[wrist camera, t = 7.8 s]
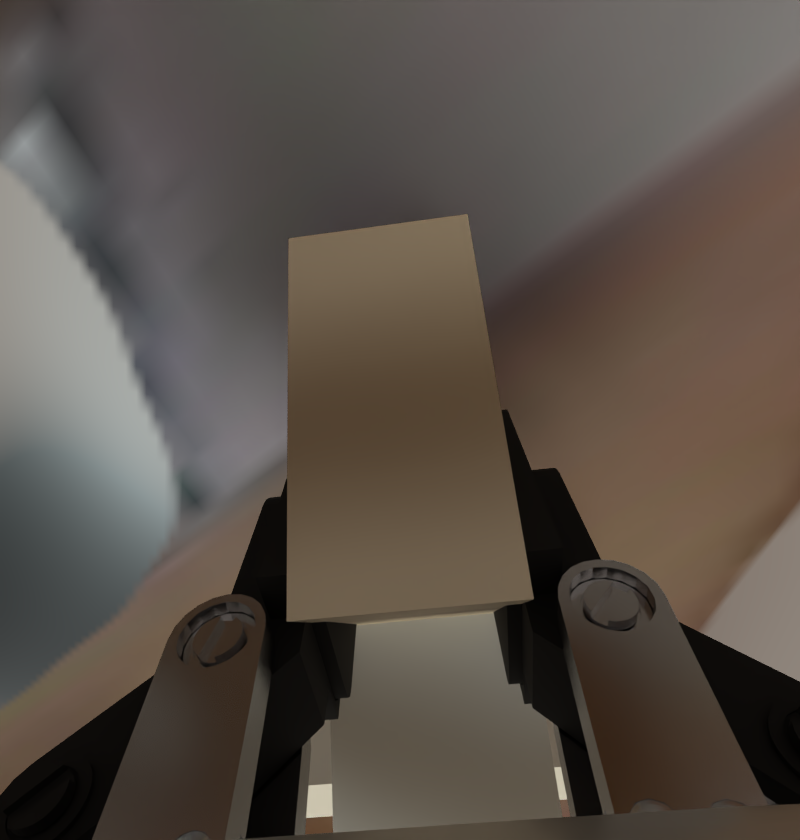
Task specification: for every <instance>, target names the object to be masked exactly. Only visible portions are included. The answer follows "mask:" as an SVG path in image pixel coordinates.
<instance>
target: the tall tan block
mask: <svg viewBox="0 0 800 840" xmlns="http://www.w3.org/2000/svg"><path fill="white" fill-rule="evenodd" d="M533 599H534V596H533V591H532V585H531V579H530V573H529V567H528V562H527V556H526V550H525V544H524V538H523V533H522V527H521V521H520V515H519V509H518V504H517V498H516V492H515V486H514V481H513V475H512V469H511V463H510V457H509V452H508V446H507V440H506V434H505V428H504V423H503V417H502V411H501V405H500V399H499V394H498V388H497V382H496V376H495V371H494V365H493V359H492V353H491V347H490V342H489V336H488V330H487V324H486V318H485V313H484V307H483V301H482V295H481V289H480V284H479V278H478V272H477V266H476V261H475V255H474V249H473V243H472V237H471V232H470V226H469V220H468V214H463V215H456V216H449V217H441V218H434V219H427V220H419V221H412V222H405V223H397V224H390V225H383V226H375V227H368V228H361V229H353V230H346V231H339V232H331V233H324V234H317V235H309V236H302V237H295V238H289V247H288V440H287V622H309V623H314V622H325V621H326V622H338V623H349V624H357V626H356V638H355V650H354V663H353V675H352V687H351V694H350V697H349V698H340V707H339V717H338V719H334V720H330V724H331V765H332V807H333V833H337V832H351V831H366V830H380V829H395V828H410V827H425V826H439V825H454V824H469V823H484V822H499V821H514V820H529V819H545V818H561V817H562V811H561V805H560V799H559V793H558V787H557V781H556V775H555V770H554V764H553V758H552V752H551V746H550V740H549V734H548V728H547V722H546V718H545V717H544V716H543V715H541V714H540V713H539V712H537V711H536V710H534V709H533V708H532V704H524V701H523V696H522V692H521V687H520V684H508V681H507V677H506V672H505V667H504V662H503V657H502V652H501V647H500V642H499V637H498V632H497V627H496V622H495V618H494V613H493V612H494V611H496V610H498V609H500V608H502V607H504V606H506V605H514V604H522V603H525V602H528V601H531V600H533Z"/></svg>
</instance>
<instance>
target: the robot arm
mask: <svg viewBox="0 0 800 840" xmlns="http://www.w3.org/2000/svg"><path fill="white" fill-rule="evenodd" d="M501 411H502V417H503V423H504V428H505V434H506V440H507V446H508V452H509V457H510V463H511V469H512V475H513V481H514V486H515V492H516V498H517V504H518V509H519V515H520V521H521V527H522V533H523V538H524V544H525V550H526V556H527V562H528V567H529V573H530V579H531V585H532V591H533V596H534V599H533V600H531V601H528V602H525V603H522V604H514V605H506V606H504V607H502V608H500V609H498V610H496V611H494V612H493V613H494V618H495V622H496V627H497V632H498V637H499V642H500V647H501V652H502V657H503V662H504V667H505V672H506V677H507V681H508V684H520V687H521V692H522V696H523V701H524V704H532V708H533V709H534V710H536V711H537V712H539V713H540V714H541V715H543V716H544V717H545V718H547V719H548V720H550V721H551V722H552V723H553V725H554V734H555V739H556V744H557V750H558V755H559V760H560V765H561V770H562V775H563V780H564V785H565V790H566V795H567V801H568V806H569V811H570V816H571V817H561V818H545V819H529V820H514V821H499V822H484V823H469V824H454V825H439V826H425V827H410V828H395V829H380V830H366V831H351V832H337V833H322V834H307V835H305V825H306V812H307V799H308V785H309V772H310V759H311V739H310V738H311V737H312V736H313V735H314V734H315V733H316V732H317V731H318V730H319V729H320V728H321V727H322V726H323V725H324V723H325V720H334V719H338V717H339V707H340V698H349V697H350V694H351V687H352V675H353V663H354V650H355V638H356V626H357V624H349V623H338V622H326V621H325V622H314V623H309V622H287V479H286V482H285V485H284V489H283V492H282V495H281V497H273V498H268V499H267V500H266V501H265V503H264V505H263V507H262V510H261V513H260V516H259V519H258V521H257V524H256V527H255V530H254V532H253V535H252V538H251V541H250V544H249V546H248V549H247V552H246V555H245V558H244V560H243V563H242V566H241V569H240V571H239V574H238V577H237V580H236V583H235V585H234V588H233V591H232V594H228V595H224V596H220V597H216V598H213V599H211V600H208V601H206V602H204V603H202V604H200V605H198V606H197V607H196V608H194V609H193V610H192V611H190V612H189V613H188V614H186V615H185V616H184V617H183V618H182V620H181V621H180V622H179V623H178V624H177V625H176V626H175V628H174V629H173V631H172V633H171V635H170V637H169V638H168V640H167V643H166V646H165V648H164V651H163V654H162V656H161V659H160V662H159V664H158V667H157V669H156V672H155V675H153V676H152V677H151V678H149V679H148V680H147V681H145V682H144V683H142V684H141V685H140V686H138V687H137V688H136V689H134V690H133V691H131V692H130V693H129V694H127V695H126V696H125V697H123V698H122V699H120V700H119V701H118V702H116V703H115V704H114V705H112V706H111V707H110V708H108V709H107V710H105V711H104V712H103V713H101V714H100V715H99V716H97V717H96V718H94V719H93V720H92V721H90V722H89V723H88V724H86V725H85V726H83V727H82V728H81V729H79V730H78V731H77V732H75V733H74V734H72V735H71V736H70V737H68V738H67V739H66V740H64V741H63V742H61V743H60V744H59V745H57V746H56V747H55V748H53V749H52V750H51V751H49V752H48V753H46V754H45V755H44V756H42V757H41V758H40V759H38V760H37V761H35V762H34V763H33V764H31V765H30V766H29V767H28V768H27V769H26V770H25V771H23V772H22V773H21V774H20V775H19V776H18V777H16V778H15V779H14V780H13V781H12V782H11V784H10V785H9V786H8V787H7V788H6V789H5V791H4V792H3V793H2V794H1V795H0V840H800V682H799V681H797V680H795V679H793V678H791V677H789V676H787V675H785V674H783V673H781V672H779V671H777V670H775V669H773V668H771V667H769V666H767V665H765V664H763V663H761V662H759V661H757V660H755V659H752V658H750V657H748V656H747V655H745V654H742V653H741V652H738V651H736V650H734V649H732V648H730V647H728V646H726V645H724V644H722V643H720V642H718V641H716V640H714V639H712V638H710V637H708V636H706V635H704V634H702V633H700V632H698V631H696V630H694V629H692V628H690V627H688V626H686V625H684V624H682V623H680V622H678V620H677V618H676V616H675V614H674V612H673V610H672V608H671V606H670V604H669V602H668V600H667V598H666V596H665V594H664V593H663V591H662V590H661V588H660V587H659V586H658V584H657V583H656V582H655V581H654V580H653V579H651V578H650V577H649V576H648V575H647V574H645V573H644V572H642V571H640V570H638V569H636V568H634V567H632V566H630V565H628V564H624V563H621V562H617V561H613V560H601V559H600V557H599V554H598V552H597V550H596V548H595V546H594V544H593V542H592V540H591V538H590V536H589V534H588V532H587V529H586V527H585V525H584V523H583V521H582V519H581V517H580V515H579V513H578V511H577V509H576V507H575V504H574V502H573V500H572V498H571V496H570V494H569V492H568V490H567V488H566V486H565V484H564V482H563V479H562V477H561V475H560V473H559V472H558V470H557V469H555V468H549V469H539V470H531V467H530V465H529V462H528V460H527V457H526V455H525V452H524V450H523V448H522V445H521V443H520V440H519V438H518V435H517V433H516V430H515V428H514V425H513V423H512V420H511V418H510V415H509V413H508V411H507V410H501Z"/></svg>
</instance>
